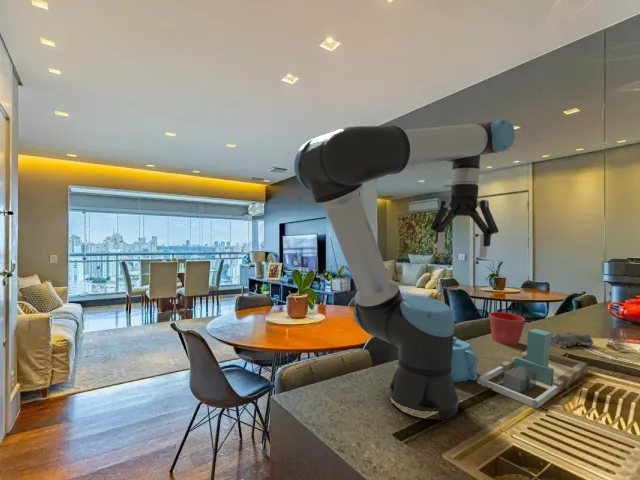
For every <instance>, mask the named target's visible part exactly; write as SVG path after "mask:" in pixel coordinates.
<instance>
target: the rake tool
mask: <svg viewBox="0 0 640 480" xmlns="http://www.w3.org/2000/svg"><path fill="white" fill-rule="evenodd" d="M551 334H552V332H550V331H545V330H543V329H538V328H532V329H530V330H528V333H527V343H526V345H527V347H526V351H527V357H526V360H525V359H522V358H519V357H515V356H514V357H515V358H514V369H515V368H517V367H519V366H522V367H525V368H528V369H531V370H534V371H537V376H536V380H538V381H540V382H543V383H546V384H549V385H552V382H553V374H554V369H553V368H550V367H548V365H549V352H550V349H551V343H550V340H551ZM550 353H551V352H550Z"/></svg>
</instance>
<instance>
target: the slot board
mask: <svg viewBox="0 0 640 480" xmlns="http://www.w3.org/2000/svg"><path fill="white" fill-rule="evenodd" d="M515 357H519V358H522V359H525V360H526V357H527V350H525V351H523V352H521V353H519V354H516V355H514V356H512V357H511V358H510V359H507V360H505V361H503V362H500V364H499V367H500V366H502V367H504V368H503V371H504V372H506V371H508V370H510V369H512V368H514V358H515ZM549 360H550V361H549V365H548V367H550V368H553V369H554V374H553V382H552V385H549V384H546V383H543V382H540V381H538V380H536V385H535V386H539V387H542V388H544V389H547V390H548V389H549V388H551V387H552V386H554V385H555V386H558V391H557V393H560V392H562V391H563V390H564V389H565V388H566V387H567V386H569V385H570V384H572V383H573V382H575V381H576V380H577V379H578V378H580V377H581V376H582V375H583V374H584V373H586V372H587V371H588V363H587V362H583V361H580V360H576V359H573V358H569V357H567V356H564V355H563V356H562V355H559V354H556V353H552V352H549ZM557 393H556V394H557Z"/></svg>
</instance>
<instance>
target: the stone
mask: <svg viewBox="0 0 640 480" xmlns="http://www.w3.org/2000/svg"><path fill="white" fill-rule="evenodd" d="M552 344H553V346H554V345H556V346H559V347H564V346H572V345H574V346H577V345H576V344H580V345H579V346H581V345H585V346H584V347H591V346H592V345H594V341H593V340H592V338H591V336H590V334H588V333H582V334H578V333H573V332H564V333H556V334H555V333H551V340H550V345H552ZM556 346H555V347H556ZM572 347H573V346H572Z"/></svg>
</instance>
